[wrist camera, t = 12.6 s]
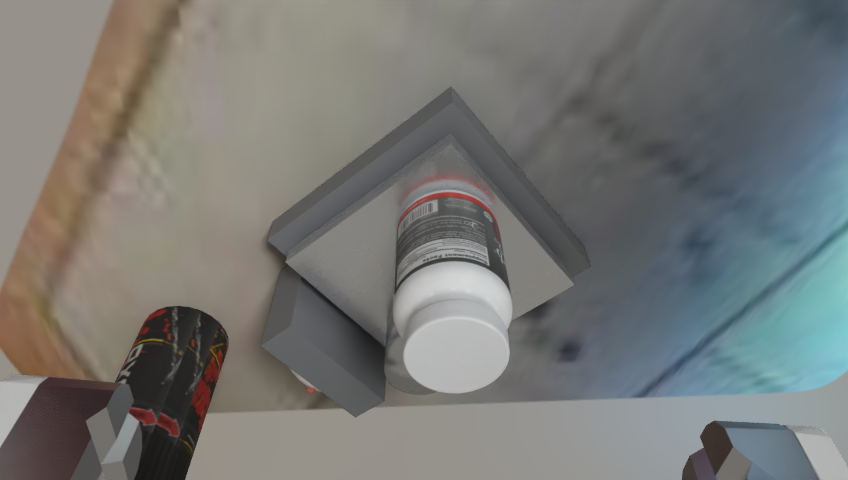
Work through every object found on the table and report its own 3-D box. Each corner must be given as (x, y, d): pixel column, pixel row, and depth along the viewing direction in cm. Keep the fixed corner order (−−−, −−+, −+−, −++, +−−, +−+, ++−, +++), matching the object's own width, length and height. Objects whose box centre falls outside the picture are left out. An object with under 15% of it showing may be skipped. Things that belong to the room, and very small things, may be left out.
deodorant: (158, 293, 45) (61, 492, 32) (241, 327, 46) (179, 527, 34) (131, 348, 48) (32, 549, 35) (210, 377, 49) (142, 578, 37)
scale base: (451, 86, 36) (457, 146, 31) (584, 247, 43) (609, 321, 37) (238, 247, 42) (210, 321, 37) (382, 366, 49) (378, 445, 43)
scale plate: (450, 133, 35) (451, 143, 34) (570, 272, 40) (574, 284, 39) (288, 250, 39) (285, 262, 38) (417, 361, 45) (417, 374, 44)
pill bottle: (490, 272, 39) (510, 406, 31) (393, 267, 38) (387, 401, 30) (505, 188, 35) (531, 312, 27) (398, 181, 35) (393, 306, 27)
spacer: (424, 287, 39) (424, 334, 36) (464, 325, 41) (468, 374, 38) (373, 319, 41) (369, 367, 38) (414, 355, 43) (414, 403, 39)
